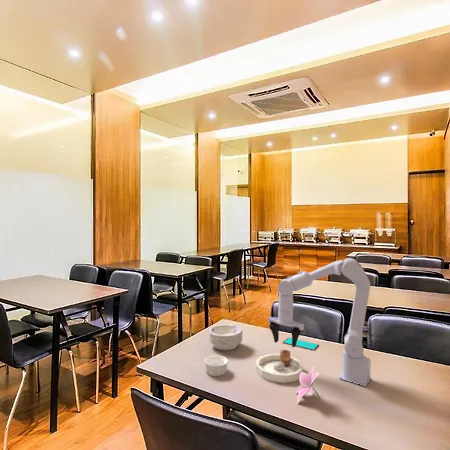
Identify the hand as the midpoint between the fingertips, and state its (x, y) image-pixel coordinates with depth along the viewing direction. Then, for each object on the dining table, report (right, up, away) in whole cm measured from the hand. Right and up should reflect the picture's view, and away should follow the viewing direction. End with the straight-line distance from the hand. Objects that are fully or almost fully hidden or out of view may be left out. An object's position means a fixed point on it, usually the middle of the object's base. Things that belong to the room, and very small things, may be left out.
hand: (285, 344), depth 126 cm
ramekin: (-27, -9, -4) cm, 29 cm away
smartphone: (+12, -9, +23) cm, 27 cm away
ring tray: (-3, -9, -4) cm, 10 cm away
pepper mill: (0, -8, 0) cm, 8 cm away
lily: (+3, -10, -22) cm, 24 cm away
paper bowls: (-24, -9, +19) cm, 31 cm away
